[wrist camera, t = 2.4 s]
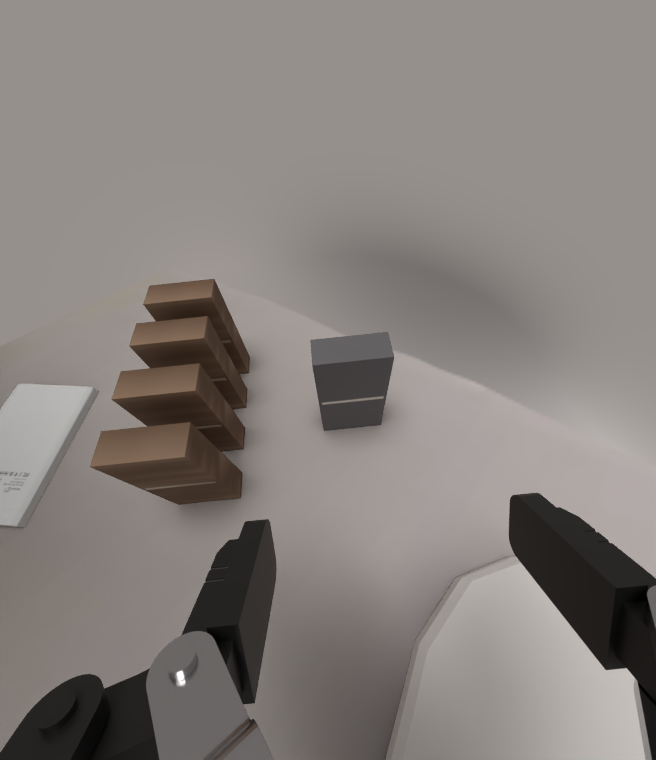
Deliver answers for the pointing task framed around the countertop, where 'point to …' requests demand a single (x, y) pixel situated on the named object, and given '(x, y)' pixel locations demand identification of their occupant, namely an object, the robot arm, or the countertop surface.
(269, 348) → the countertop surface
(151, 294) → the domino
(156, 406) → the domino
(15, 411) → the external hard drive
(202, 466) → the domino
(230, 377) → the domino
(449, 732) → the decorative plate
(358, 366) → the domino
